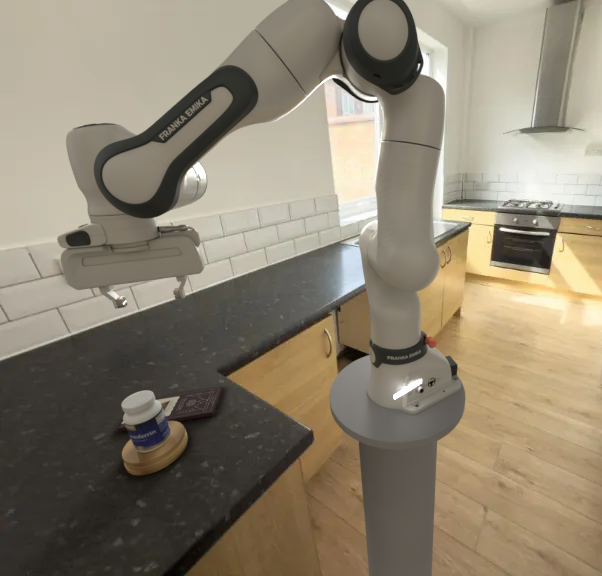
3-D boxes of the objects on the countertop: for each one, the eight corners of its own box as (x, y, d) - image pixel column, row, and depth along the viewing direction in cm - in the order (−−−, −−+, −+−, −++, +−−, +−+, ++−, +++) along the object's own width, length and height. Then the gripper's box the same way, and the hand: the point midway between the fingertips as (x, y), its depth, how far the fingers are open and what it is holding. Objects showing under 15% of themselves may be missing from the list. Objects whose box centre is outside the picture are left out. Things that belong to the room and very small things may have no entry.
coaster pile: (192, 424, 67) (188, 413, 66) (185, 463, 58) (181, 451, 57) (134, 441, 63) (129, 429, 62) (117, 485, 55) (111, 473, 53)
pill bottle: (129, 457, 56) (109, 413, 53) (143, 432, 62) (126, 391, 58) (165, 450, 58) (148, 406, 54) (176, 426, 63) (162, 385, 59)
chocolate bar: (212, 412, 69) (117, 428, 65) (213, 415, 69) (119, 432, 66) (222, 386, 77) (138, 399, 73) (223, 389, 77) (140, 402, 74)
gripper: (197, 220, 61) (214, 287, 66) (62, 232, 54) (92, 305, 59) (193, 226, 56) (211, 298, 61) (42, 239, 49) (77, 319, 54)
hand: (152, 302), depth 60 cm, fingers open, 8 cm apart
